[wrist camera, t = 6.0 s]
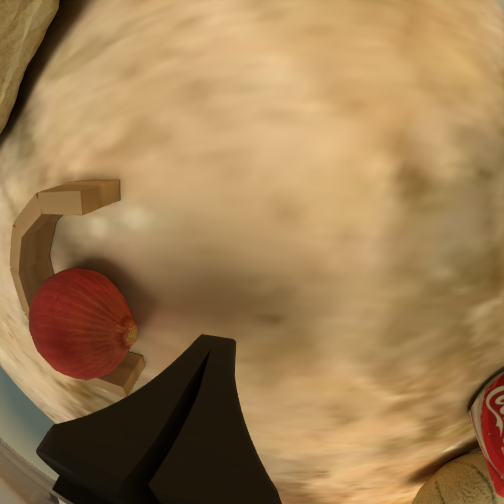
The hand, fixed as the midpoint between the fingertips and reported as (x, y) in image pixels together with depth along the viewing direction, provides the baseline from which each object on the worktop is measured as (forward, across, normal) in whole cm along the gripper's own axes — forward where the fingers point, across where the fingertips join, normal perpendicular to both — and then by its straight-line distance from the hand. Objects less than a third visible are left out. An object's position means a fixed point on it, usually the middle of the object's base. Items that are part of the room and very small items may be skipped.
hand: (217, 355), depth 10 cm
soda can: (+4, -24, +8) cm, 25 cm away
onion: (+1, +4, 0) cm, 4 cm away
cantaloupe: (+4, -31, +25) cm, 40 cm away
